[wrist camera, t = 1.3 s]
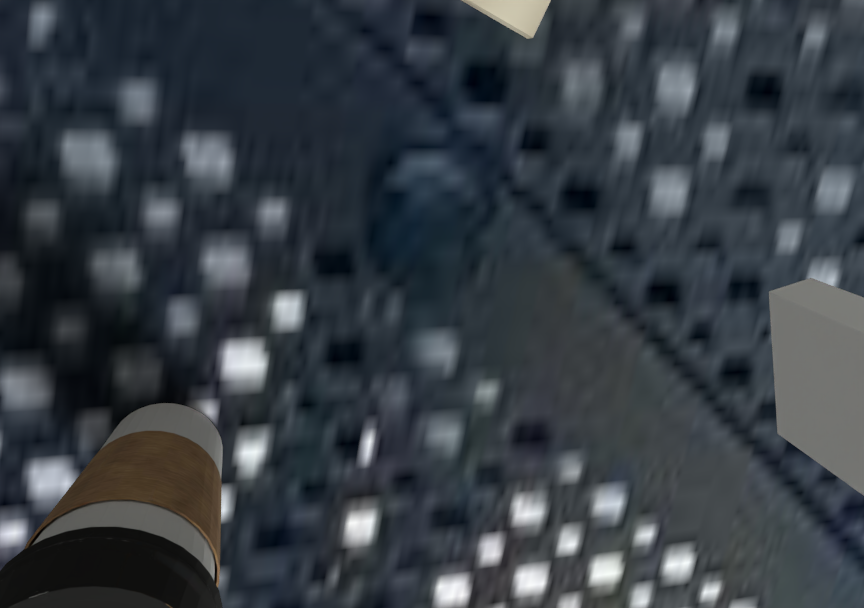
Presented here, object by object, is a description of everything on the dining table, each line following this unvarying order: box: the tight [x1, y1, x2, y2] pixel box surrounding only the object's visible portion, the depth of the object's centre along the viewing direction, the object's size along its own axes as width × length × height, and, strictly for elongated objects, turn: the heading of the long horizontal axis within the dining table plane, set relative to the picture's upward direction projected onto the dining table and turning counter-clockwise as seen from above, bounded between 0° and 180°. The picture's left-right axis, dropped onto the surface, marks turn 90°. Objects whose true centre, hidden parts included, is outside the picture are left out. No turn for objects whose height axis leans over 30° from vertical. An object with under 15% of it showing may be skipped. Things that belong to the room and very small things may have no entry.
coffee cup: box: [0, 403, 223, 608], centre depth 29 cm, size 8×8×15 cm
